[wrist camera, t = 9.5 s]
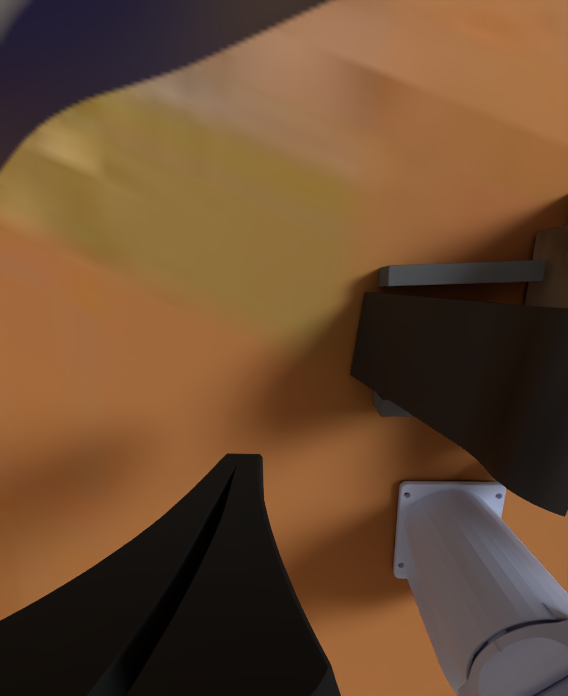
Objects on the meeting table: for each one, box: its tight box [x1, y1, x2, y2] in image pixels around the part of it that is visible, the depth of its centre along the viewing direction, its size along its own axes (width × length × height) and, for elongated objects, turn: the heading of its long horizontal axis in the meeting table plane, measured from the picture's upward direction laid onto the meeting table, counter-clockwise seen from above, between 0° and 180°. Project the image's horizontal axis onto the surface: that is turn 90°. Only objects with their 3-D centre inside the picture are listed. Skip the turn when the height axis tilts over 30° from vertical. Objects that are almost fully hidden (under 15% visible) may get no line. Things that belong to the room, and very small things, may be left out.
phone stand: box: [350, 292, 568, 517], centre depth 13 cm, size 9×6×12 cm, turn 83°
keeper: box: [373, 260, 546, 417], centre depth 18 cm, size 10×9×2 cm
